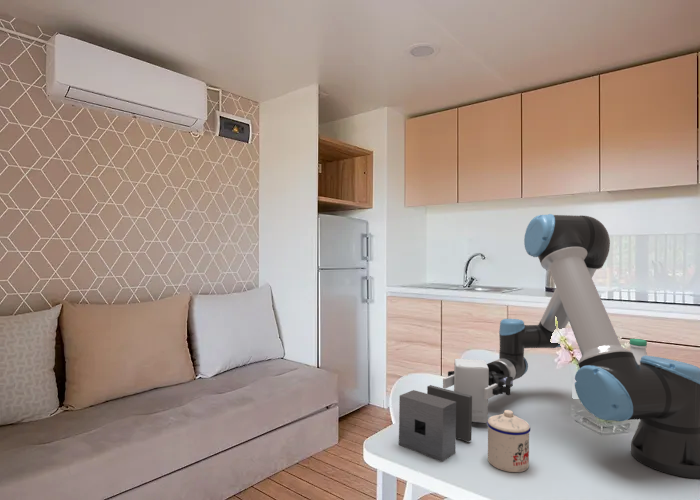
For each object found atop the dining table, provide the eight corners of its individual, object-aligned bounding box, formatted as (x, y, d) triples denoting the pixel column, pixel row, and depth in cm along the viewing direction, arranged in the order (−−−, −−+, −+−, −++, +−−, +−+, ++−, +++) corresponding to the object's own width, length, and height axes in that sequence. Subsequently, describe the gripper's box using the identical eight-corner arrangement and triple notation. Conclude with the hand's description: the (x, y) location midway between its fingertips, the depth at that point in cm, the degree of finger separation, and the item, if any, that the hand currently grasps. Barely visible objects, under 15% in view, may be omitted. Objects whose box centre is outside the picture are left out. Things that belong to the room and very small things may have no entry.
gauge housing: (473, 440, 106) (473, 392, 106) (442, 461, 95) (442, 408, 95) (422, 423, 116) (423, 380, 116) (389, 441, 105) (389, 392, 105)
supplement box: (488, 424, 113) (489, 368, 114) (454, 420, 115) (455, 365, 115) (485, 411, 122) (486, 359, 122) (453, 408, 124) (454, 357, 124)
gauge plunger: (471, 440, 105) (472, 395, 105) (452, 452, 98) (452, 405, 98) (421, 423, 115) (422, 383, 115) (401, 434, 108) (402, 391, 108)
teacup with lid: (520, 478, 89) (521, 422, 89) (479, 463, 95) (480, 411, 95) (540, 458, 97) (541, 407, 97) (501, 446, 104) (502, 398, 104)
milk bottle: (656, 402, 136) (656, 340, 136) (646, 407, 132) (646, 343, 132) (629, 396, 142) (630, 336, 142) (619, 400, 138) (619, 338, 138)
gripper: (538, 394, 124) (506, 414, 108) (463, 377, 140) (426, 391, 124) (538, 368, 124) (507, 384, 108) (463, 354, 140) (427, 366, 125)
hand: (464, 388), depth 116 cm, fingers closed on supplement box, 12 cm apart
